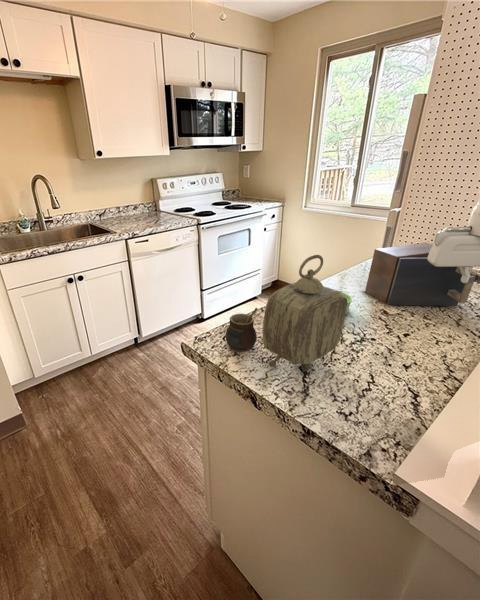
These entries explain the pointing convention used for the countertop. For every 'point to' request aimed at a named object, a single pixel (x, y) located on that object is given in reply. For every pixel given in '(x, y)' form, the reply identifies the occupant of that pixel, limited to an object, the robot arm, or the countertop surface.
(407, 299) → the cupboard door
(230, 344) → the mate gourd
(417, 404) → the countertop surface
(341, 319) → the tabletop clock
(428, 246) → the cupboard
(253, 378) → the countertop surface
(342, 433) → the countertop surface
